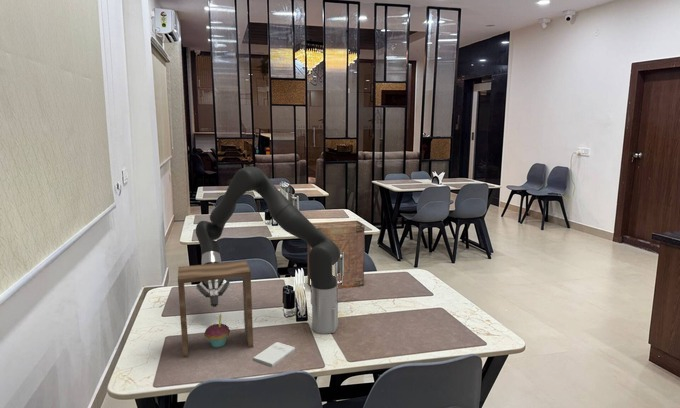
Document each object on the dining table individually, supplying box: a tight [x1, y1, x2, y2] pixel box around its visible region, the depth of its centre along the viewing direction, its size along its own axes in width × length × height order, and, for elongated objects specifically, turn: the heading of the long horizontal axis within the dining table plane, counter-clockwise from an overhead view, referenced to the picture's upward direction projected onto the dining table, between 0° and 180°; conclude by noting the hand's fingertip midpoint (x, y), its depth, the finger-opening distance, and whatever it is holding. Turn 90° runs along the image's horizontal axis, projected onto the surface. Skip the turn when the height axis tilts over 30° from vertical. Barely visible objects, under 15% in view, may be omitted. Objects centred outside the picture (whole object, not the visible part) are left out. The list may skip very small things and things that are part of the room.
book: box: [307, 220, 366, 290], centre depth 208 cm, size 25×9×30 cm, turn 108°
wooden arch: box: [177, 260, 254, 359], centre depth 152 cm, size 13×23×28 cm, turn 109°
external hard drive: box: [252, 341, 296, 368], centre depth 148 cm, size 2×8×12 cm
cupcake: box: [204, 313, 231, 348], centre depth 154 cm, size 9×8×12 cm
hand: (214, 306), depth 166 cm, fingers closed
